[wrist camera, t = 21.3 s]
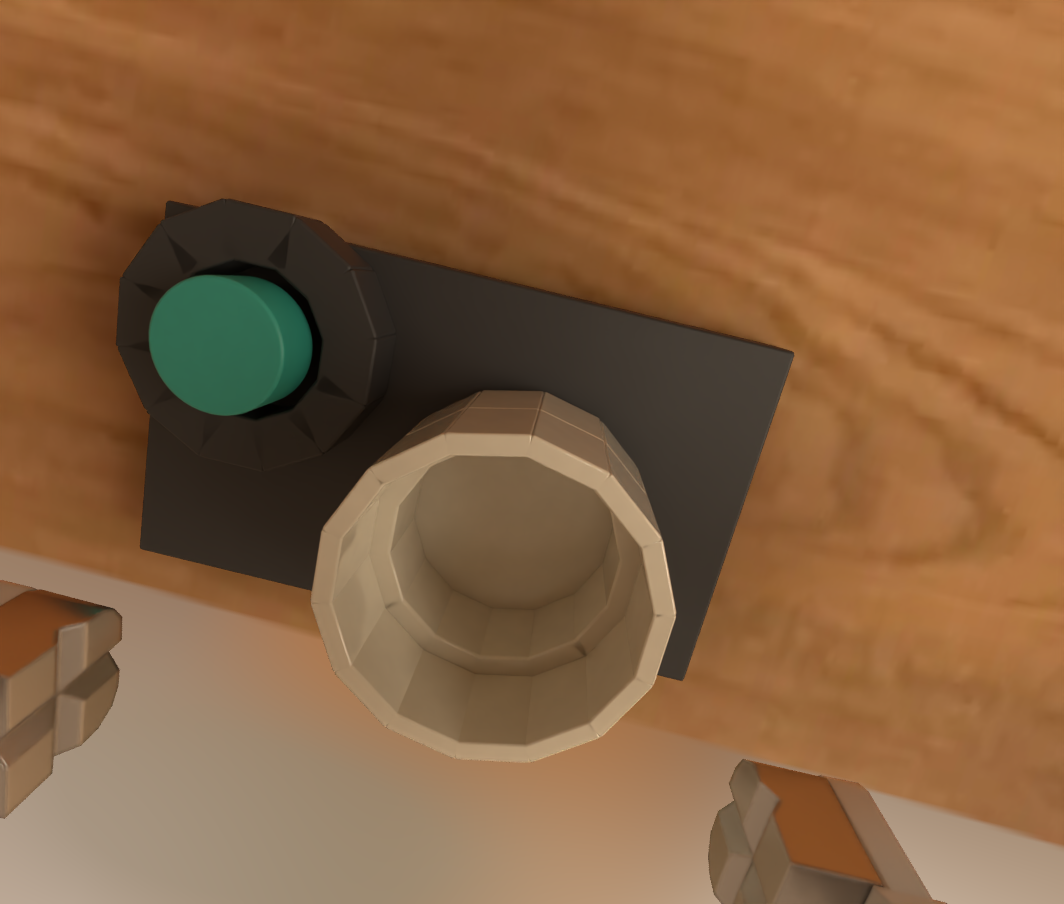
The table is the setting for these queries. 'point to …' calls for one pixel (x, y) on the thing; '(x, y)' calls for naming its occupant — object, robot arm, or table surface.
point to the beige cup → (497, 581)
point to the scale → (429, 396)
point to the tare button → (229, 343)
